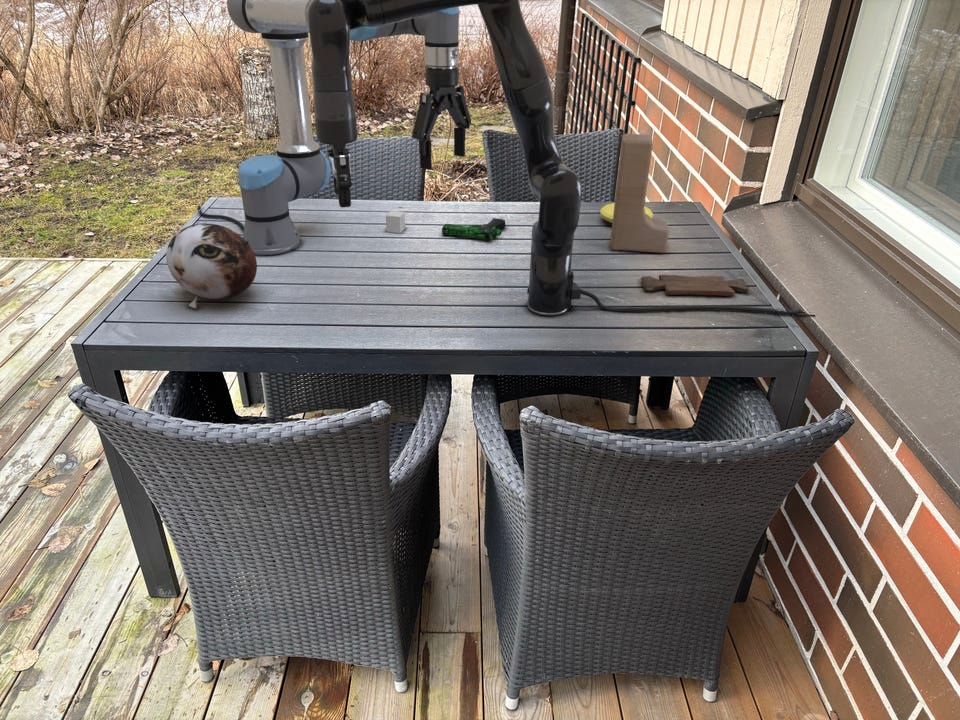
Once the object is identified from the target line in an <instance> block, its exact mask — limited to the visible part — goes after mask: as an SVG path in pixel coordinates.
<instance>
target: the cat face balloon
mask: <svg viewBox="0 0 960 720" xmlns="http://www.w3.org/2000/svg"><path fill="white" fill-rule="evenodd" d="M248 242H249V241H246V240H245V239H244V238H243V236H242V235H240V234H239V233H238V232H236V231H234V230H233V229H231V228H229V227H226V226H223V225H220V224H215V223H205V222H204V223H195V224H191V225H188V226H186V227H183V228H182V229H180V230H179V231H177V232H176V233H175V234H174V235H173V237H171V239H170V241H169V243H168V245H167V248H166V254H165V260H166V265H167V268H168V271H169V273H170V275H171V276H172V277H173V279H174V280H175V281H176V282H177V284H178V285H180V286H181V287H182V288H183V289H185V290H186V291H187V292H189V293H191V294H194V295H195V298H194V299H193V300H192V302H190V303H189V304H188V306H189V307H191V308H192V309H197V308H198V307H197V298H198V297H201V298H205V299H210V300H226V299H230V298H233V297H236V296H238V295H241V294H242V293H244V292H245V291H247V290H248V289H249V288H250V286H251V285H252V284H253V282H254V280H255V278H256V275H257V271H258V262H257V257H256V254H254V252H253V250H252V248H251V247H250V245H249V244H248Z"/></svg>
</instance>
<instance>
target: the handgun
mask: <svg viewBox="0 0 960 720" xmlns="http://www.w3.org/2000/svg"><path fill="white" fill-rule="evenodd" d="M505 228H506V220H505V219H503V218H497V217H492V219H491V220H490V221H489V222H488V223H483V224H482V225H479V224H472V225H459V224H453V223H445V224H443V226H442V227H441V235H446V236H454V237H462V238H469V239H470V238H471V239H474V240H479V241H484V242H491V241H492V240H494V239H495V238H497V237H500V236H502V230H504V229H505Z"/></svg>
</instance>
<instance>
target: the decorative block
mask: <svg viewBox="0 0 960 720" xmlns="http://www.w3.org/2000/svg"><path fill="white" fill-rule="evenodd" d="M653 145H654V143H653V138H652V136H651V135H650V134H640V133H639V134H638V133H624V134H622V136H621V143H620V153H619V162H618V172H617V179H616V188H615V197H614V203H615V205H614V213H613V222H612V223H611V231H610V248H611V250H613V251H624V252H625V251H626V252H641V253H657V254H665V253H667V250H668V244H669V237H670V228H669V225H668V221H666V220H662V219H657V218H653V217H652V218H651V217H650V216H648V215H647V214H646V213H645V209H644V206H645V205H646V198H647V191H648V190H647V189H648V183H649V175H650V168H651V160H652V154H653ZM645 207H646V206H645Z"/></svg>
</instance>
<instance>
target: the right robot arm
mask: <svg viewBox="0 0 960 720" xmlns="http://www.w3.org/2000/svg"><path fill="white" fill-rule="evenodd" d="M474 5H476V6H477V7H478V9H479V12H480V16H481V17H482V21H483V22H484V24H485V25H484V26H485V27H486V30H487V34H488V37H489V40H490V44H491V49H492V53H493V57H494V61H495V65H496V70H497V73H498V76H499V80H500V85H501V88H502V91H503V94H504V98H505V101H506V106H507V108H508V111H509V113H510V117H511V119H512V123H513V125H514V129H515V131H516V134H517V136H518V139H519V142H520V145H521V148H522V152H523V155H524V161H525V166H526V172H527V173H526V174H527V178H528V183H529V189H530V191H531V193H532V195H533V196H534V198H535V199H536V200H537V201H538V202H539V209H538V219H537V220H536V221H535V222H533V224H532V227H531V239H530V241H531V243H530V260H529V275H528V276H529V278H528V288H527V289H526V290H527V292H526V294H527V295H528V296H527V309H528V310H529V311H530V312H531V313H533V314H536V315H539V316H543V317H544V316H545V317H556V316H560V315H563V314H565V313H567V312H571V311H572V301H573V300H574V301H575V300H580V299H581V297H582V295H583V296H586V297H589V298H591V299H592V300H594V302H595V303H596V305H597V306H598V307H599V309H601V310H604V311H607V312H614V313H625V312H627V313H628V312H633V313H634V312H638V313H639V312H643V313H644V312H663V311H665V312H666V311H669V312H670V311H697V310H698V311H701V310H703V311H705V310H707V311H709V310H710V311H715V310H717V311H743V312H754V313H755V312H757V313H768V314H777V315H791V316H792V315H800V314H806V313H805V312H802V310H801V309H802V308H799V309H784V310H785V311H786V312H785V311H778V308H768V307H756V306H755V307H753V306H740V305H708V304H707V305H701V304H700V305H670V306H669V305H668V306H647V307H645V306H643V307H641V306H639V307H638V306H637V307H636V306H635V307H633V306H630V307H627V306H625V307H612V306H608V305H606V304H603V303H602V302H601V300H600V299H599V297H598V296H597V295H595V294H593V293H592V292H590V291H587V290H584V289H582V288H581V287H580V286H579V285H578V284H577V283H576V282H575V281H574V278H575V275H574V274H575V273H574V271H573V270H572V259H573V247H574V237H575V232H576V230H577V228H578V225H579V220H580V213H581V204H582V196H583V193H582V192H583V187H582V186H583V185H582V180H581V179H580V176H579V175H578V174H577V173H576V172H575V171H573V170H572V169H570V168H569V167H568V166H567V165H566V164H565V162H564V160H563V158H562V155H561V152H560V149H559V146H558V143H557V140H556V136H555V123H554V122H555V100H554V99H555V98H554V93H553V89H552V83H551V81H550V77H549V73H548V70H547V66H546V64H545V61H544V59H543V56H542V54H541V52H540V50H539V47H538V46H537V44H536V42H535V41H534V39H533V36H532V34H531V33H530V31H529V29H528V26H527V24H526V22H525V18H524V16H523V12H522V8H521V3H520V0H309V1H308V2H307V4H306V7H305V18H306V22H307V24H308V27H309V33H308V34H309V40H310V41H309V42H310V47H311V49H310V50H311V55H312V57H311V66H310V67H311V78H312V88H313V89H312V90H313V99H312V101H313V111H314V112H313V113H314V122H315V123H314V124H315V132H316V133H315V134H316V140H317V141H318V142H319V143H321V144H324V145H328V148H327V149H326V152H327V159H328V160H329V165H330V168H331V175H332V178H333V179H332V181H333V189H334V190H333V191H334V193H335V194H336V195H338V205H339V207H340V208H350V207H351V206H352V198H351V188H352V186H353V183H352V177H351V176H352V167H351V158H352V157H351V152H350V151H349V148H348V147H346V145H347V144H351V143H355V142H356V141H357V140H358V125H357V113H356V101H355V95H354V90H353V89H354V88H353V78H352V76H353V75H352V67H351V60H350V52H351V51H350V50H351V40H350V30H353V29H357V28H361V27H379V26H383V25H388V24H392V23H396V22H400V21H403V20H407V19H411V18H414V17H418V16H422V15H425V14H429V13H432V12H436V11H440V10H444V9H449V8H454V7H459V8H460V7H465V6H466V7H467V6H474Z"/></svg>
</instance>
